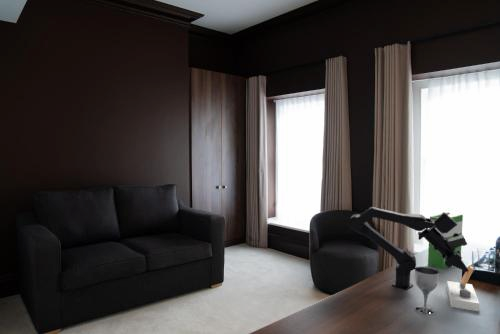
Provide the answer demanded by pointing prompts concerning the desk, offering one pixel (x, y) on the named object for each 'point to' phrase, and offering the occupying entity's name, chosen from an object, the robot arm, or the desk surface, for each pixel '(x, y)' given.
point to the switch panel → (461, 301)
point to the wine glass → (426, 286)
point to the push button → (465, 293)
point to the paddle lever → (466, 277)
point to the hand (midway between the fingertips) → (467, 270)
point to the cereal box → (434, 255)
